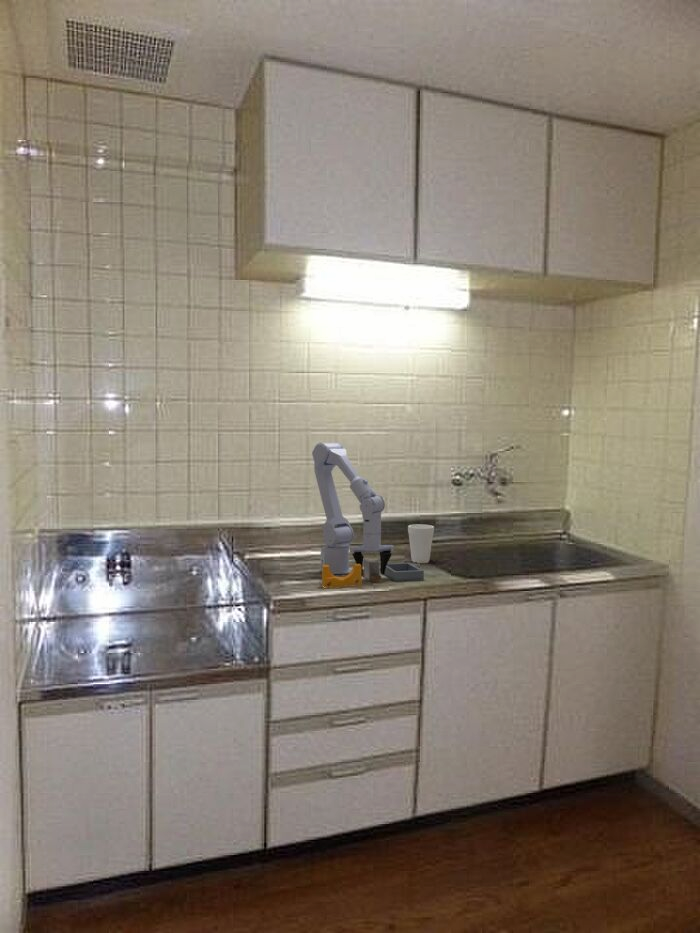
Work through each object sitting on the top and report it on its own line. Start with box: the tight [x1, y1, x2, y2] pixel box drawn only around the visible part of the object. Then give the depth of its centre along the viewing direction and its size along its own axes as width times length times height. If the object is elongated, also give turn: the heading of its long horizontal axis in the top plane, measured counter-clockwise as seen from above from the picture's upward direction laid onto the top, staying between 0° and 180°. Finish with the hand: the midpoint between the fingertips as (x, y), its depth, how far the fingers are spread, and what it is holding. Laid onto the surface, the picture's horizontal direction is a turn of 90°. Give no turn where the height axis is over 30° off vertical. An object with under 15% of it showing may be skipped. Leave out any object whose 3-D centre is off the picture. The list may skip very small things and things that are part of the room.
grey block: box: [363, 557, 380, 582], centre depth 214 cm, size 3×7×6 cm, turn 16°
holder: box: [362, 568, 382, 584], centre depth 214 cm, size 3×11×2 cm, turn 16°
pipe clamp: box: [321, 563, 362, 588], centre depth 204 cm, size 12×4×6 cm, turn 102°
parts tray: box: [383, 562, 425, 582], centre depth 218 cm, size 10×13×3 cm
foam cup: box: [407, 524, 435, 564], centre depth 242 cm, size 10×9×13 cm
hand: (371, 574), depth 214 cm, fingers open, 7 cm apart
